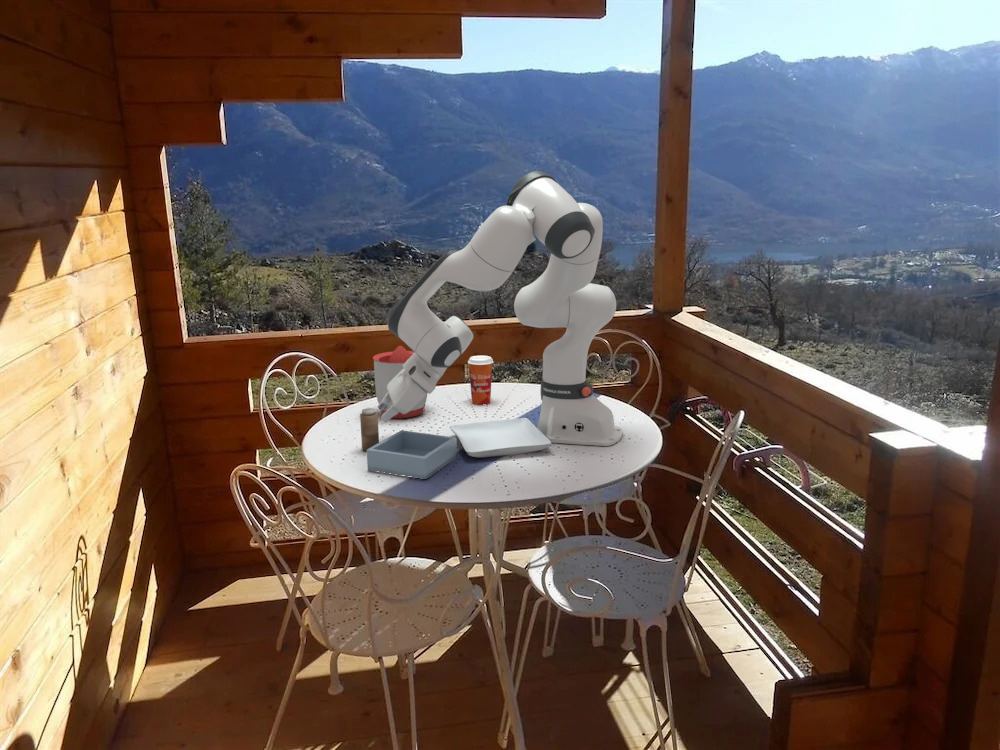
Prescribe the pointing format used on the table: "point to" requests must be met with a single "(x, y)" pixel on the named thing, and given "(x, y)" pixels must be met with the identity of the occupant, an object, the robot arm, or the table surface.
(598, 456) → the table surface
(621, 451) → the table surface
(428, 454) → the slate blue bin
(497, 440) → the salad plate
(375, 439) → the walnut pepper mill
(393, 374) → the citrus juicer
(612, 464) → the table surface
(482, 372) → the paper cup
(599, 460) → the table surface
